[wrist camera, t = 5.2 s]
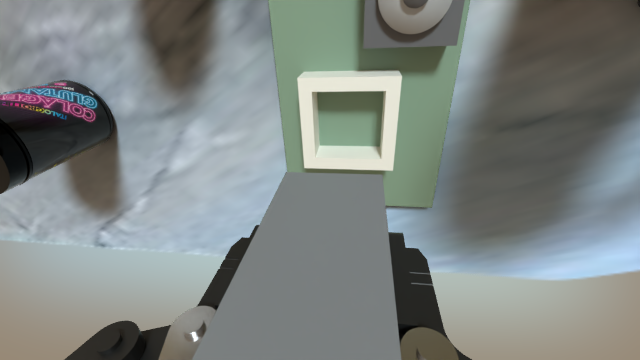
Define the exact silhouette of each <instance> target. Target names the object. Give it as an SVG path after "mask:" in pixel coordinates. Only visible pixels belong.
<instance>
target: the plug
mask: <svg viewBox="0 0 640 360" xmlns="http://www.w3.org/2000/svg"><path fill="white" fill-rule="evenodd" d="M192 360H401V351H400V342H399V332H398V322H397V312H396V303H395V293H394V283H393V273H392V263H391V254H390V244H389V234H388V224H387V215H386V205H385V195H384V185H383V175H376V174H338V173H300V172H286V173H285V175H284V177H283V179H282V181H281V183H280V185H279V187H278V189H277V191H276V193H275V195H274V197H273V199H272V201H271V203H270V205H269V207H268V209H267V211H266V213H265V215H264V217H263V219H262V221H261V223H260V225H259V227H258V229H257V231H256V233H255V235H254V237H253V239H252V241H251V243H250V245H249V247H248V249H247V251H246V253H245V255H244V257H243V259H242V261H241V263H240V265H239V267H238V269H237V271H236V273H235V275H234V277H233V279H232V281H231V283H230V285H229V287H228V289H227V291H226V293H225V295H224V297H223V299H222V301H221V303H220V305H219V307H218V309H217V311H216V313H215V315H214V317H213V319H212V321H211V323H210V325H209V327H208V329H207V331H206V333H205V335H204V337H203V339H202V341H201V343H200V345H199V347H198V349H197V351H196V353H195V355H194V356H193V358H192Z"/></svg>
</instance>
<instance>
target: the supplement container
mask: <svg viewBox="0 0 640 360" xmlns="http://www.w3.org/2000/svg"><path fill="white" fill-rule="evenodd" d="M112 130H113V120H112V116H111V113H110V111H109V109H108V107H107V105H106V104H105V103H104V101H103V100H102V99H101V98H100V97H99V96H98V95H97V94H96V93H95V92H94V91H92V90H91V89H89V88H88V87H86V86H84V85H82V84H80V83H77V82H74V81H68V80H60V81H55V82H50V83H46V84H41V85H37V86H32V87H27V88H23V89H18V90H14V91H9V92H4V93H0V194H2V193H4V192H6V191H8V190H10V189H12V188H14V187H16V186H18V185H21V184H23V183H25V182H26V181H28V180H29V179H31V178H33V177H35V176H37V175H39V174H41V173H43V172H45V171H47V170H49V169H51V168H54V167H56V166H58V165H60V164H62V163H64V162H66V161H68V160H70V159H72V158H74V157H76V156H78V155H80V154H82V153H84V152H86V151H88V150H90V149H92V148H94V147H96V146H98V145H100V144H102V143H104V142H106V141H107V140H108V139H109V137H110V136H111V133H112Z"/></svg>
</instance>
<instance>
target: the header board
mask: <svg viewBox="0 0 640 360" xmlns="http://www.w3.org/2000/svg"><path fill="white" fill-rule="evenodd" d="M268 2H269V11H270V19H271V28H272V37H273V46H274V55H275V64H276V73H277V82H278V91H279V100H280V109H281V118H282V127H283V136H284V145H285V153H286V162H287V171H288V172H300V173H338V174H376V175H383V185H384V195H385V205H386V206H406V207H429V208H432V204H433V199H434V193H435V188H436V183H437V177H438V172H439V166H440V161H441V156H442V150H443V145H444V139H445V134H446V129H447V123H448V118H449V112H450V107H451V102H452V96H453V91H454V85H455V80H456V75H457V69H458V64H459V58H460V53H461V48H462V42H463V37H464V31H465V26H466V21H467V15H468V10H469V4H470V0H268Z"/></svg>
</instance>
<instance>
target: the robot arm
mask: <svg viewBox="0 0 640 360" xmlns="http://www.w3.org/2000/svg"><path fill="white" fill-rule="evenodd" d="M258 227H259V225H256V226H255V228H254V230H253V232H252V234H251V235H250V237H249V238H243V237H242V238H241V239H240V240H239V241H238V242H236V243H235V244H234V245H233V246H232V247H231V249H230V250H229V252H228V254H227V256H226V257H225V260H224V261H223V262H222V264H221V266H220V269H218V271H217V273H216V275H215V276H214V278H213V280H212V282H211V283H210V285H209V287H208V289H207V290H206V292H205V294H204V296H203V297H202V299H201V301H200V303H199V304H198V306H197V307H194V308H191V309H189V310H187V311H185V312H184V313H182V314H181V315H180V316H179V317H178V318H177V319H176V320H175V321H174V322H173V324H172V325H169V326H165V327H160V328H155V329H151V330H146V331H140V330H139V328H138V326H137V325H136V324H135V323H134V322H131V321H120V322H116V323H113V324H111V325H108V326H107V327H105V328H103V329H102V330H100V331H99V332H98V333H96V334H95V335H94V336H92V337H91V338H90V339H89V340H88V341H86V342H85V343H84V344H83V345H82V346H81V347H79V348H78V349H77V350H76V351H74V352H73V353H72V354H71V355H70V356H68V357H67V358H66V359H65V360H192V358H193V356H194V355H195V353H196V351H197V349H198V347H199V345H200V343H201V341H202V339H203V337H204V335H205V333H206V331H207V329H208V327H209V325H210V323H211V321H212V319H213V317H214V315H215V313H216V311H217V309H218V307H219V305H220V303H221V301H222V299H223V297H224V295H225V293H226V291H227V289H228V287H229V285H230V283H231V281H232V279H233V277H234V275H235V273H236V271H237V269H238V267H239V265H240V263H241V261H242V259H243V257H244V255H245V253H246V251H247V249H248V247H249V245H250V243H251V241H252V239H253V237H254V235H255V233H256V231H257V229H258ZM388 234H389V244H390V254H391V263H392V273H393V283H394V293H395V303H396V312H397V322H398V332H399V342H400V351H401V360H472V359H470V358H468V357H466V356H465V355H463V354H462V353H461V352H459V351H458V350H457V349H456V348H455V347H454V346H453V344H452V343H451V342H450V340H449V339H448V337H447V335H446V333H445V331H444V328H443V323H442V320H441V315H440V312H439V307H438V303H437V299H436V295H435V291H434V287H433V283H432V279H431V275H430V271H429V267H428V263H427V259H426V258H425V257H424V256H423V254H422V253H421V252H420V251H419V249H416V248H405V242H404V236H403V233H392V232H388Z"/></svg>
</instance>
